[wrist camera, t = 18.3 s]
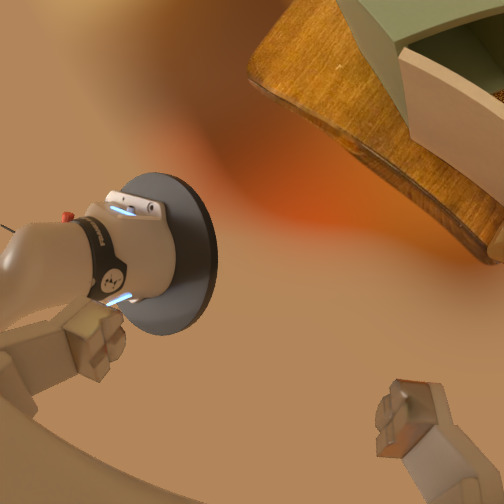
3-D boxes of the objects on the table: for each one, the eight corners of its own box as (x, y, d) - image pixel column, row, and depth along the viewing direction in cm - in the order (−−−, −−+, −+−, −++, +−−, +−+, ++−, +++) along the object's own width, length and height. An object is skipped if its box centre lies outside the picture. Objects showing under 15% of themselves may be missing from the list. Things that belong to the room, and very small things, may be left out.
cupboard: (514, 86, 22) (555, -5, 6) (409, 129, 29) (393, 42, 14) (458, 12, 23) (453, -90, 7) (360, 51, 31) (307, -48, 15)
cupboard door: (497, 268, 25) (564, 304, 10) (384, 181, 31) (352, 134, 16) (526, 216, 23) (609, 205, 8) (414, 131, 29) (403, 46, 14)
